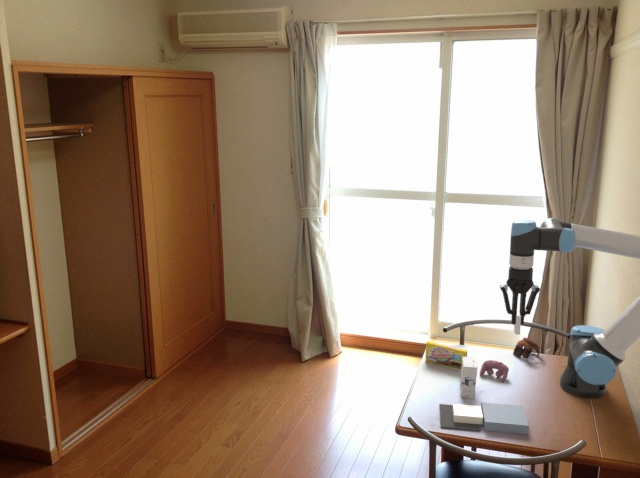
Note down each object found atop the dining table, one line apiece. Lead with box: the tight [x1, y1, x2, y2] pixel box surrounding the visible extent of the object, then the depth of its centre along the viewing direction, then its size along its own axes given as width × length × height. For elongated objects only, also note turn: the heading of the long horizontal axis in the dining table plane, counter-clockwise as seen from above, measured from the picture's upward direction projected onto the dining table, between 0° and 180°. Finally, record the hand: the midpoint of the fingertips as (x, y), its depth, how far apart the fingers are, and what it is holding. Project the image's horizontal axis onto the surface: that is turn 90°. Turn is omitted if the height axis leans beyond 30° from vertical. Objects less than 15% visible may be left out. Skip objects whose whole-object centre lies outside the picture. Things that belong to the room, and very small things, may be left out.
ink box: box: [459, 356, 478, 399], centre depth 203 cm, size 9×5×12 cm, turn 168°
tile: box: [452, 403, 484, 426], centre depth 187 cm, size 9×7×2 cm
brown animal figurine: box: [512, 337, 541, 359], centre depth 231 cm, size 12×10×8 cm
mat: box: [439, 403, 481, 433], centre depth 187 cm, size 12×14×1 cm
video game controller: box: [479, 360, 510, 383], centre depth 215 cm, size 10×5×7 cm, turn 59°
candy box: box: [424, 340, 468, 371], centre depth 223 cm, size 16×2×8 cm, turn 58°
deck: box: [480, 401, 529, 435], centre depth 185 cm, size 13×12×3 cm
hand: (516, 332), depth 196 cm, fingers closed
